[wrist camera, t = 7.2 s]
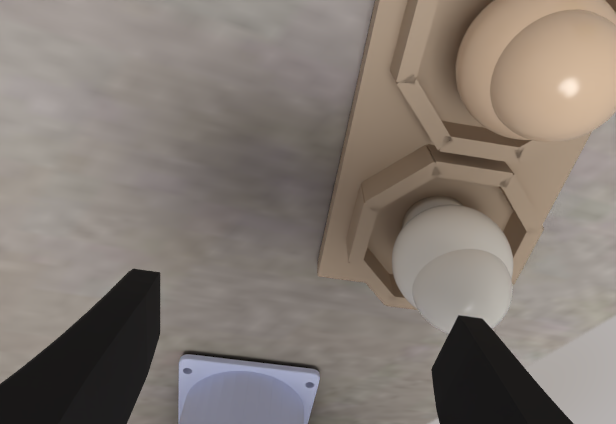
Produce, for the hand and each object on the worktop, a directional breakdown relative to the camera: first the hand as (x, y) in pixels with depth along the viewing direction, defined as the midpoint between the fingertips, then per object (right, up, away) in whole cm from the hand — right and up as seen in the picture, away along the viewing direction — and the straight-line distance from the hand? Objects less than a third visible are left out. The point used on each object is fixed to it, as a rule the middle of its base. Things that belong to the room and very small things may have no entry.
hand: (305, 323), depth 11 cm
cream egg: (+5, +2, +8) cm, 10 cm away
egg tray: (+6, +6, +7) cm, 11 cm away
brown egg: (+7, +8, +4) cm, 12 cm away
